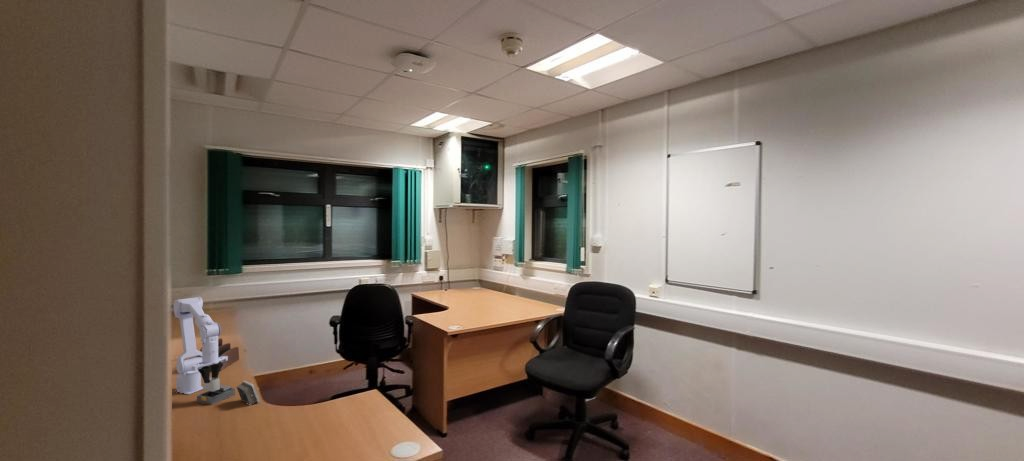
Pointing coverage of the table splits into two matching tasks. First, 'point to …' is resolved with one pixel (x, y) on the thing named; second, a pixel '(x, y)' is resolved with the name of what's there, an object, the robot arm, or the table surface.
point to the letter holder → (227, 353)
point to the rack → (216, 395)
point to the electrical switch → (248, 393)
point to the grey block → (212, 384)
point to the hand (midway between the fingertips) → (210, 381)
